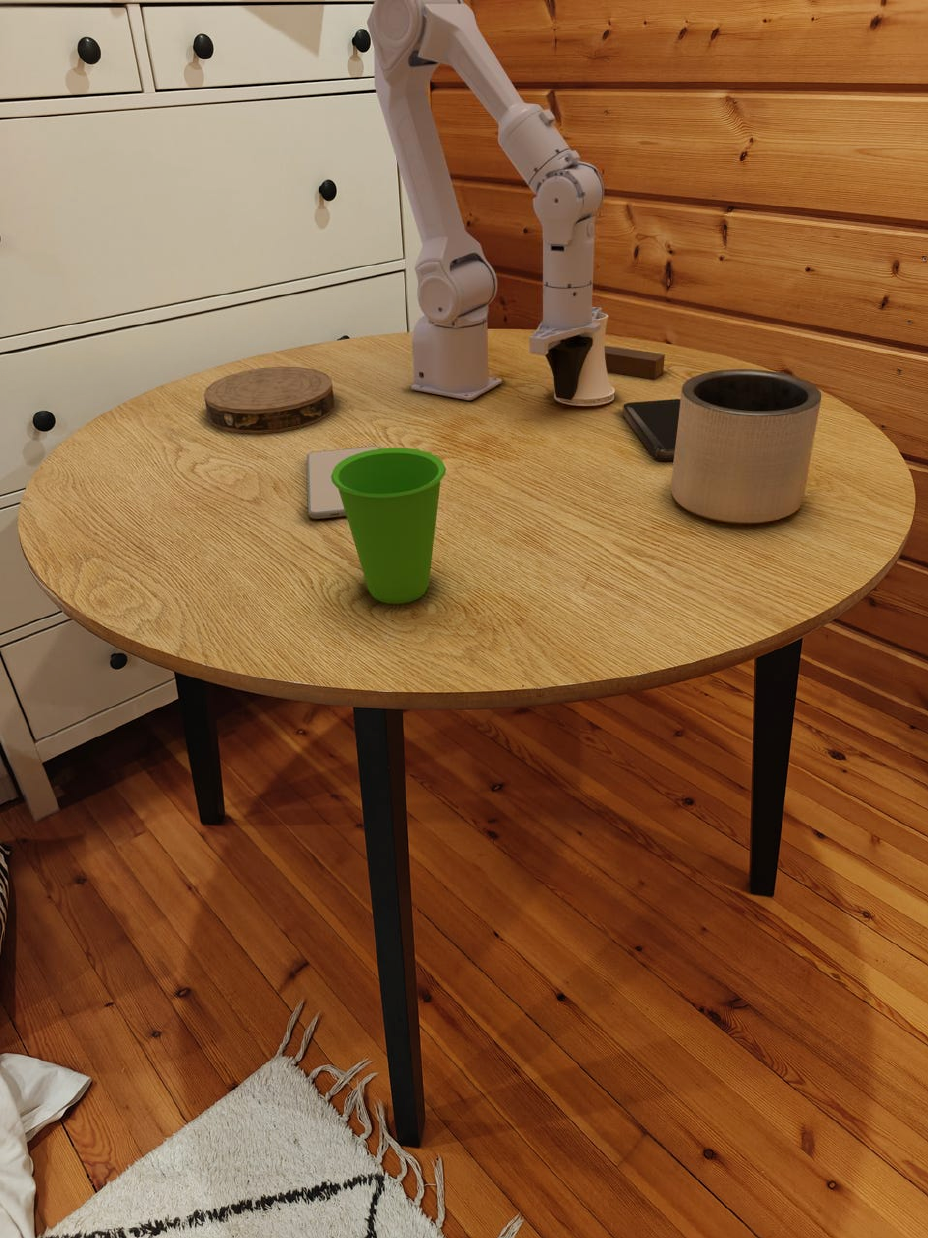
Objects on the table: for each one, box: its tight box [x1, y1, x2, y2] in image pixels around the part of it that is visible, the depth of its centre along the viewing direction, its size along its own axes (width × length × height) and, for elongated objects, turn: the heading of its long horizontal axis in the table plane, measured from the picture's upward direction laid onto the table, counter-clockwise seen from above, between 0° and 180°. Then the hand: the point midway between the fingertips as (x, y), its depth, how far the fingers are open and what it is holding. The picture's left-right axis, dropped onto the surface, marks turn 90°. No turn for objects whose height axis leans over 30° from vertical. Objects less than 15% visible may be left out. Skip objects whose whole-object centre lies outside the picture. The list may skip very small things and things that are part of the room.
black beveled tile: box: [622, 398, 681, 462], centre depth 103 cm, size 8×1×15 cm
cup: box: [331, 447, 447, 605], centre depth 74 cm, size 9×9×11 cm
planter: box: [670, 368, 822, 526], centre depth 86 cm, size 12×12×11 cm
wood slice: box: [203, 366, 335, 435], centre depth 114 cm, size 16×16×3 cm
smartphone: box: [306, 445, 381, 520], centre depth 94 cm, size 8×1×15 cm
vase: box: [553, 312, 616, 407], centre depth 111 cm, size 8×8×10 cm
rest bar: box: [605, 345, 666, 380], centre depth 122 cm, size 12×3×2 cm, turn 57°
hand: (565, 397), depth 111 cm, fingers closed, pressing on vase
